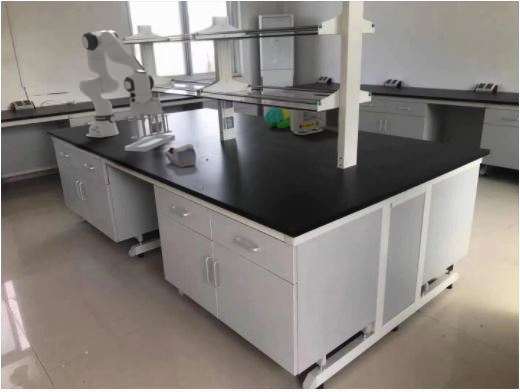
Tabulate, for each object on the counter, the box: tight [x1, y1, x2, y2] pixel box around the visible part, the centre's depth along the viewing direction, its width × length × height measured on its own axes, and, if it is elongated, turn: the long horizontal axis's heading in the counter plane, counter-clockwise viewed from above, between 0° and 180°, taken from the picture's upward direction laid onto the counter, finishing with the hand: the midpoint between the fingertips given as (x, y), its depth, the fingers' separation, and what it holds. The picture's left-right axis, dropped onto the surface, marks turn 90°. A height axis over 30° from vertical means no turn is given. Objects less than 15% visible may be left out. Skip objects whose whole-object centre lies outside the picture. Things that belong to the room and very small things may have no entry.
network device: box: [290, 110, 327, 136], centre depth 270 cm, size 26×9×20 cm, turn 122°
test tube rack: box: [128, 110, 173, 140], centre depth 259 cm, size 25×4×13 cm, turn 128°
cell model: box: [164, 143, 197, 168], centre depth 216 cm, size 13×11×20 cm
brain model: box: [264, 107, 291, 129], centre depth 291 cm, size 24×19×15 cm
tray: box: [124, 134, 176, 153], centre depth 263 cm, size 14×33×2 cm, turn 160°
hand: (147, 121), depth 258 cm, fingers closed on test tube rack, 5 cm apart
